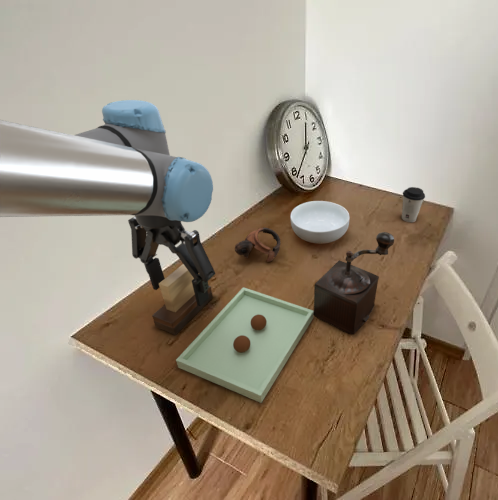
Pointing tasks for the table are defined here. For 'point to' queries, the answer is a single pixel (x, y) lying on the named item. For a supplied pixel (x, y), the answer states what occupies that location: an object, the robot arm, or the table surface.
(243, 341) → the cork ball
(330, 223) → the cereal bowl
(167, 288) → the chalkboard eraser
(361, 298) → the manual coffee grinder
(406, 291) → the table surface
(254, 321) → the cork ball
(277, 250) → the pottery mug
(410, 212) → the coffee cup
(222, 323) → the tray
